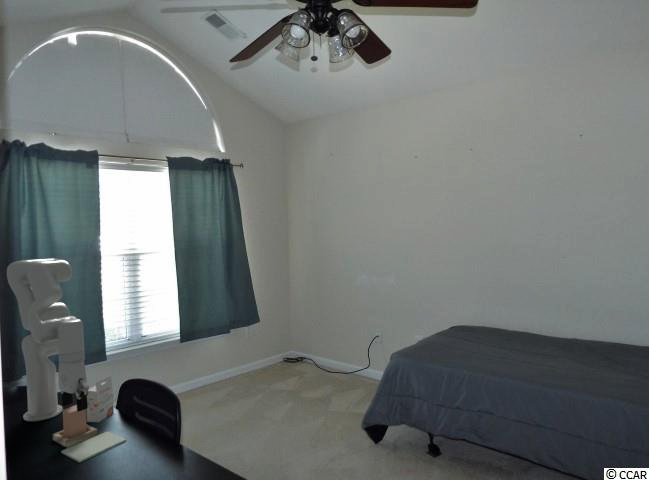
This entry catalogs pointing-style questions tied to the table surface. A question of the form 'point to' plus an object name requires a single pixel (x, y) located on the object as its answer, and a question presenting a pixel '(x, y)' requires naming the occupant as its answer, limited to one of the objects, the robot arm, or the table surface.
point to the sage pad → (93, 446)
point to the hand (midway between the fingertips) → (74, 407)
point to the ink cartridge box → (100, 401)
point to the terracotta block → (74, 422)
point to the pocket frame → (75, 440)
